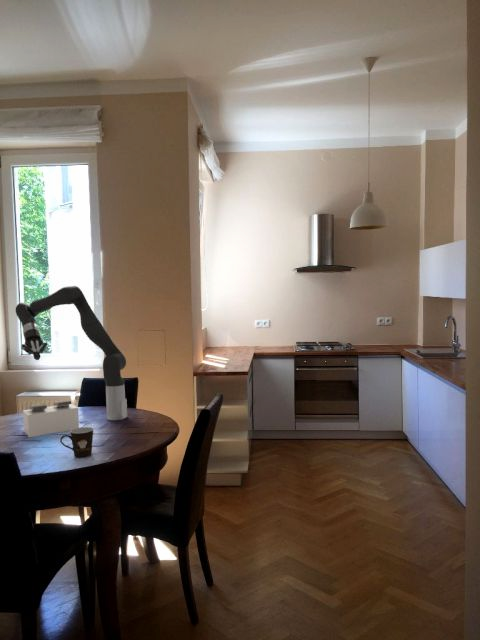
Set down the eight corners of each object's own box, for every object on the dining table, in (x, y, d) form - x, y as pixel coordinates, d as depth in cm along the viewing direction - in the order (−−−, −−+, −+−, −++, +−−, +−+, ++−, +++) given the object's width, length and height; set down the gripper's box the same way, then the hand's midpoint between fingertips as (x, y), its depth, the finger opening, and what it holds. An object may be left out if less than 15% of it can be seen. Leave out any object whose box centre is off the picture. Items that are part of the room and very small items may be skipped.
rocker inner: (67, 403, 230) (66, 400, 230) (71, 404, 224) (71, 400, 224) (54, 405, 227) (53, 402, 227) (58, 406, 220) (57, 402, 220)
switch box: (71, 423, 234) (71, 401, 233) (78, 428, 224) (77, 406, 224) (23, 431, 221) (22, 408, 221) (29, 437, 212) (27, 413, 211)
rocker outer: (43, 406, 224) (42, 403, 224) (46, 408, 217) (46, 405, 217) (29, 408, 221) (29, 405, 221) (32, 410, 214) (32, 407, 214)
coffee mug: (97, 451, 189) (96, 427, 189) (89, 459, 181) (87, 433, 180) (70, 451, 190) (69, 427, 190) (59, 458, 182) (58, 433, 181)
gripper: (18, 329, 240) (24, 355, 231) (45, 327, 248) (52, 353, 238) (17, 339, 245) (22, 365, 236) (43, 337, 253) (50, 362, 243)
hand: (37, 358), depth 237 cm, fingers closed
